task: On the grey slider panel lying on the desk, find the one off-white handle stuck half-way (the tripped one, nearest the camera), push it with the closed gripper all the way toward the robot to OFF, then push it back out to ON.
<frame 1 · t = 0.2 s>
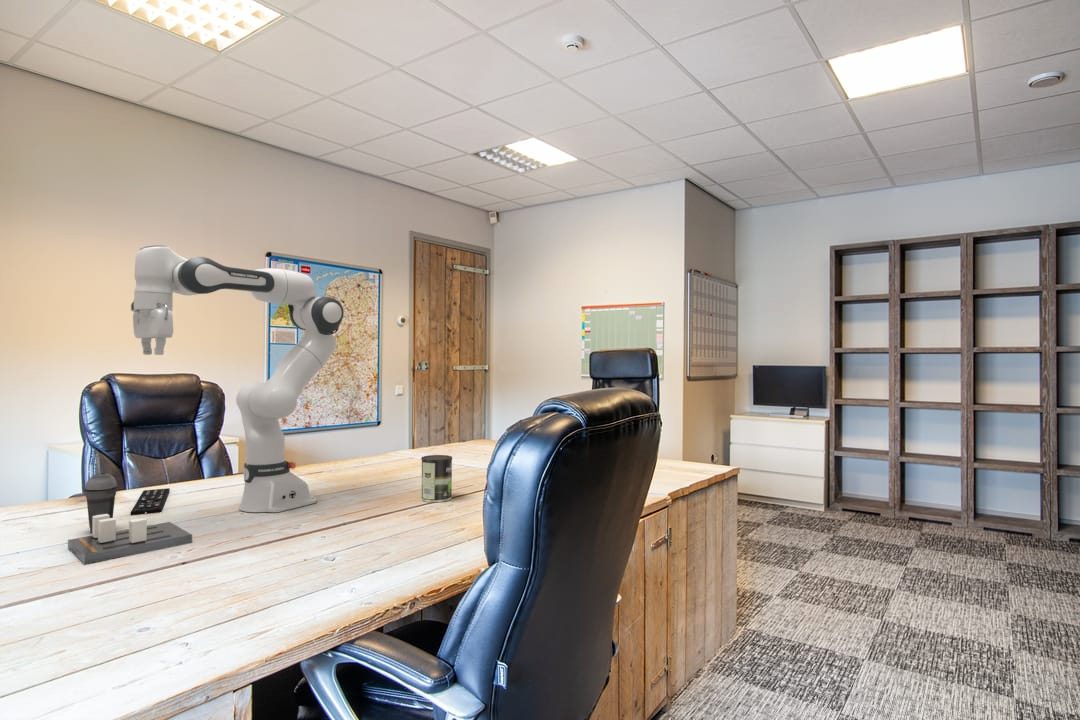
hand: (153, 354, 162), 48 cm above the table, tool pointing down, fingers open, 8 cm apart
beverage cup: (100, 531, 158), on the table
breaker b: (106, 530, 143), point 5 cm above the table, slide at 10.0 cm
coffee can: (436, 499, 199), on the table
tripped breaker: (137, 530, 143), point 5 cm above the table, slide at 5.0 cm
remote control: (151, 504, 190), on the table
grey slider panel: (131, 545, 147), on the table
breaker a: (101, 525, 147), point 5 cm above the table, slide at 10.0 cm
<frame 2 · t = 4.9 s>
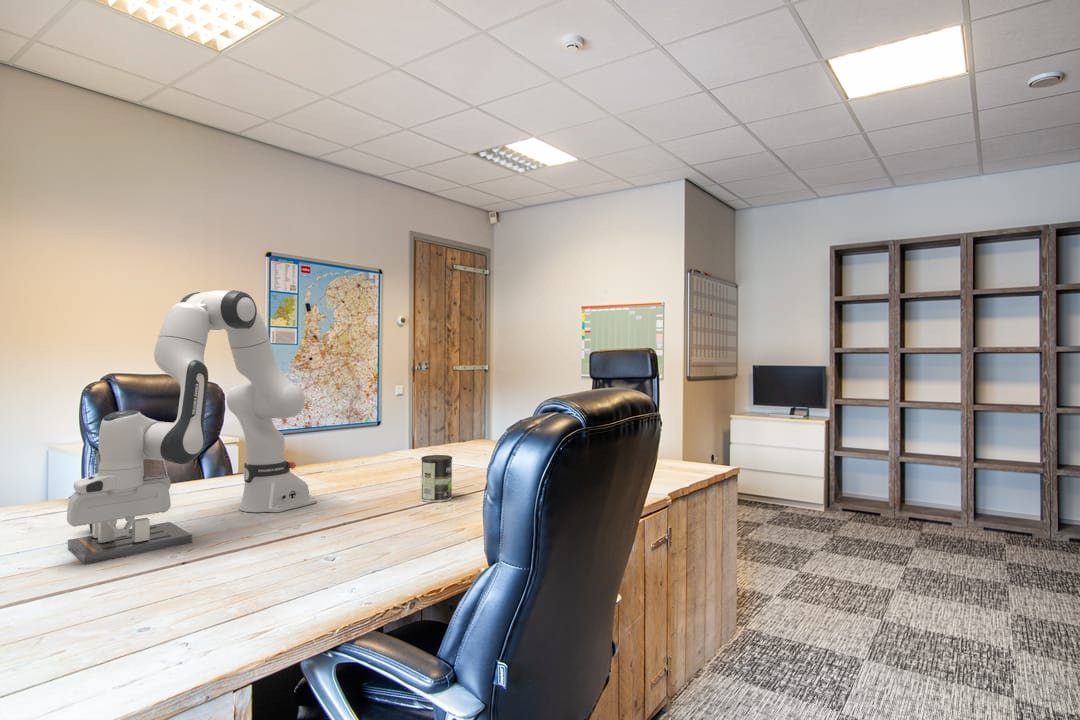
hand: (121, 536, 141), 4 cm above the table, tool pointing down, fingers closed
tripped breaker: (140, 529, 144), point 5 cm above the table, slide at 4.4 cm, touching gripper
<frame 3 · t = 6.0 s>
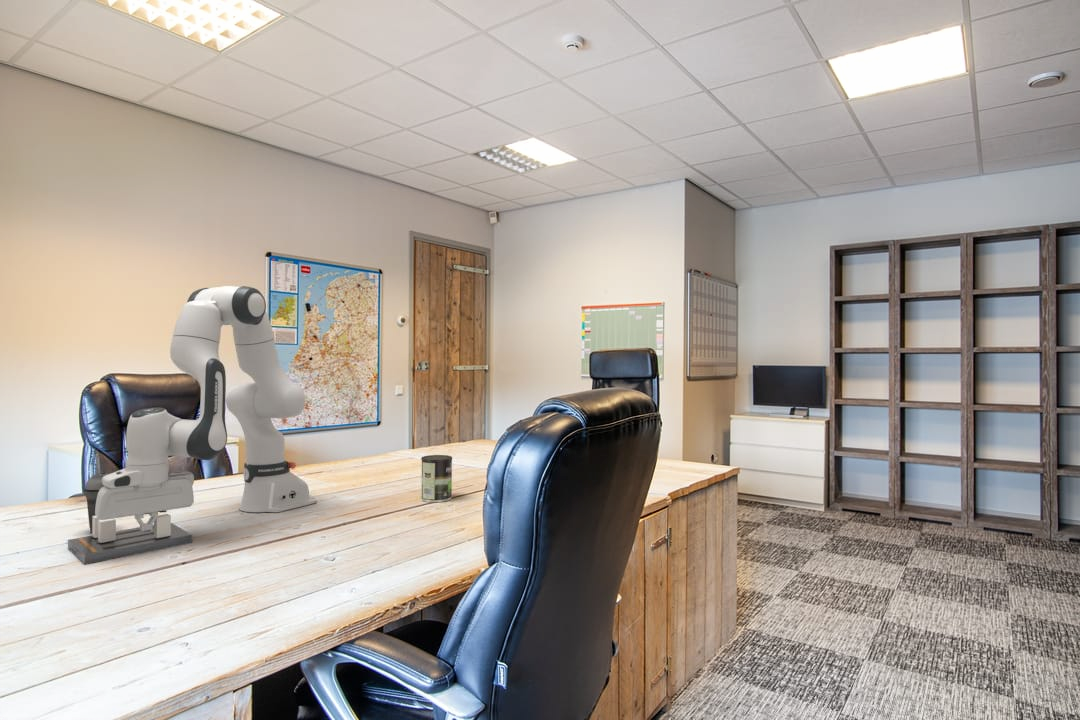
hand: (146, 531, 145), 4 cm above the table, tool pointing down, fingers closed
tripped breaker: (162, 525, 147), point 5 cm above the table, slide at -0.2 cm, touching gripper
everything else where it was.
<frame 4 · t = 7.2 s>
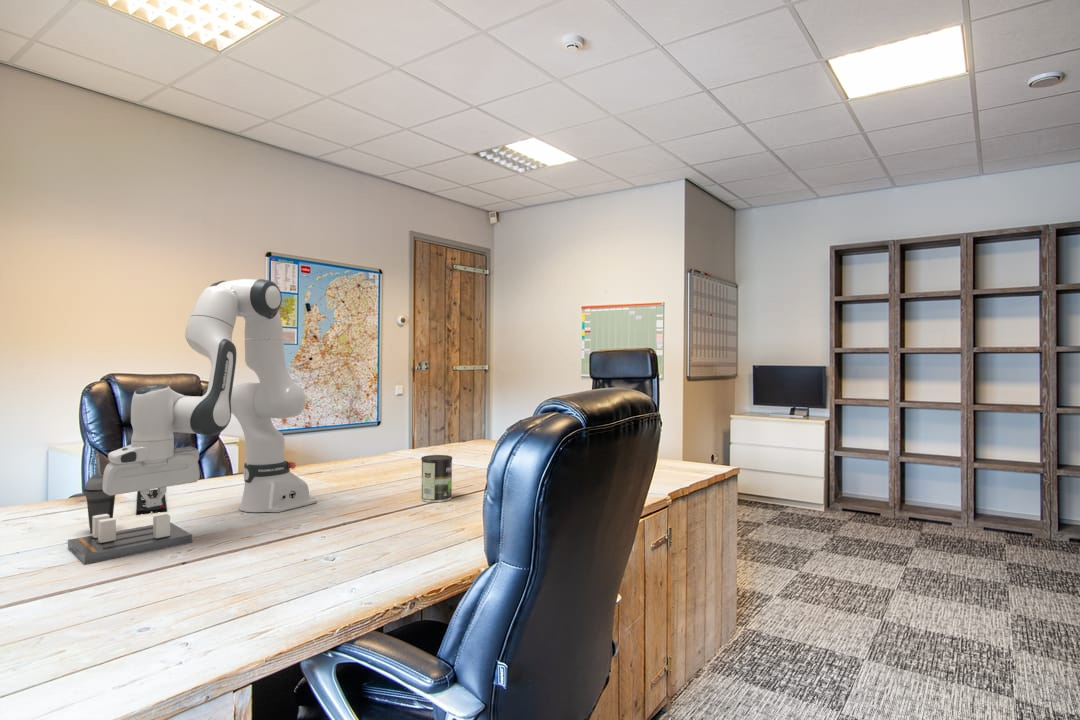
hand: (153, 506, 146), 10 cm above the table, tool pointing down, fingers closed
tripped breaker: (161, 526, 147), point 5 cm above the table, slide at -0.1 cm
everything else where it was.
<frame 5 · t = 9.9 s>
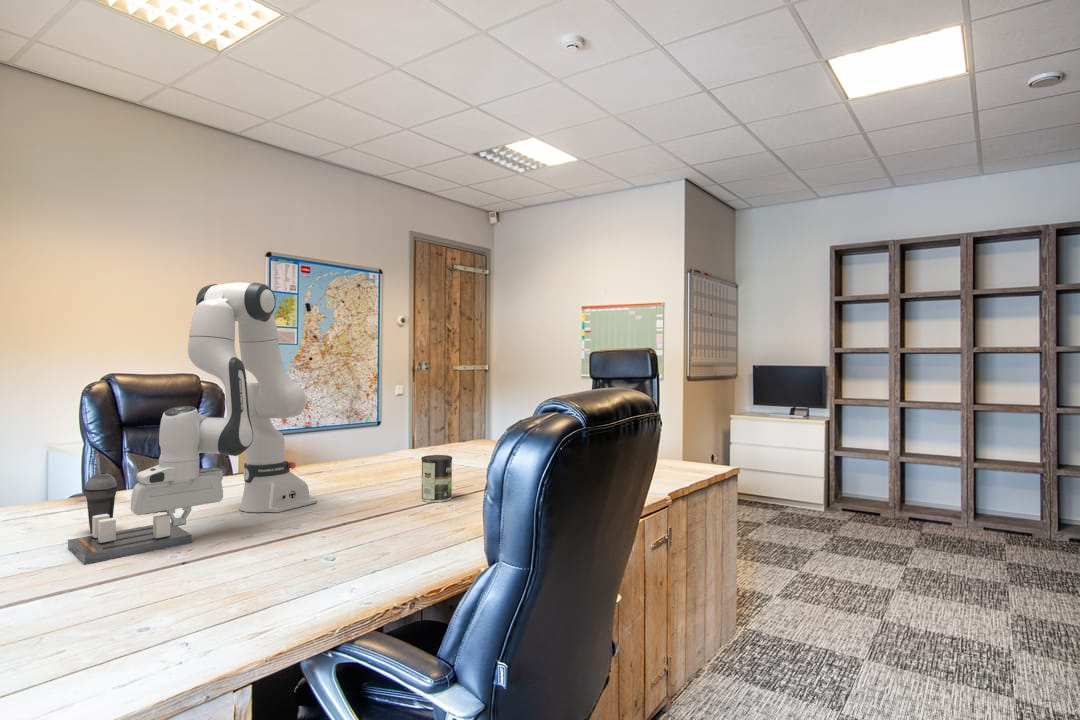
hand: (178, 525, 150), 4 cm above the table, tool pointing down, fingers closed
tripped breaker: (161, 526, 147), point 5 cm above the table, slide at -0.1 cm, touching gripper
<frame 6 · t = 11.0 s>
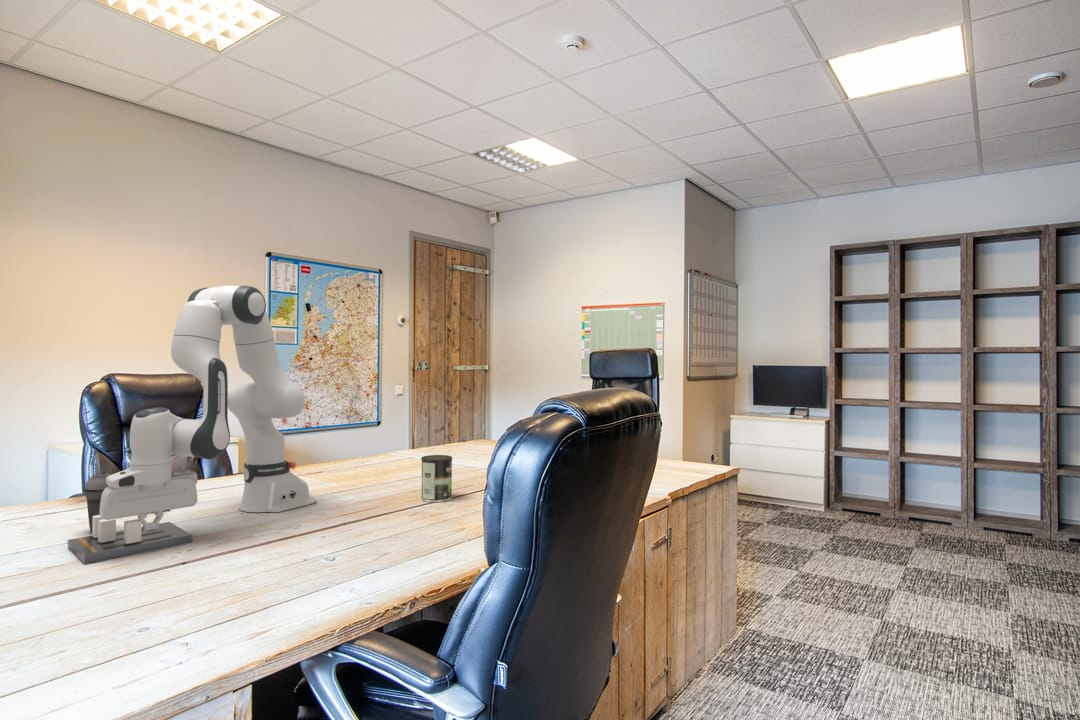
hand: (150, 530, 145), 4 cm above the table, tool pointing down, fingers closed
tripped breaker: (132, 531, 143), point 5 cm above the table, slide at 6.1 cm, touching gripper
everything else where it was.
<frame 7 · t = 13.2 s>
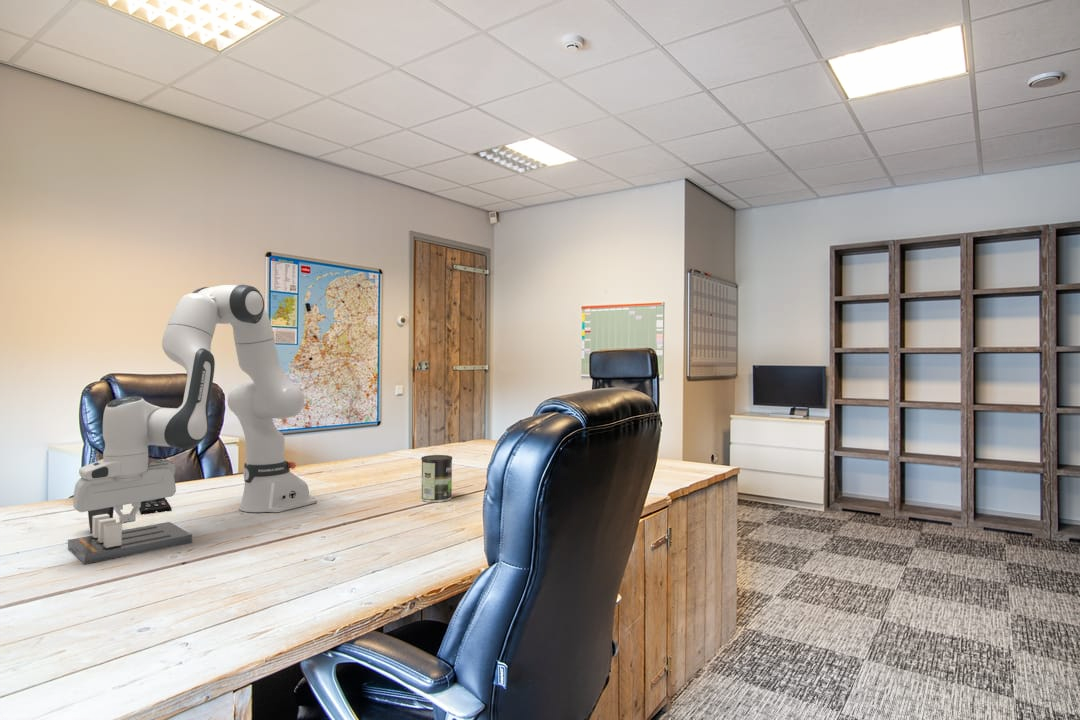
hand: (127, 522, 142), 7 cm above the table, tool pointing down, fingers closed
tripped breaker: (112, 534, 140), point 5 cm above the table, slide at 10.1 cm, touching gripper
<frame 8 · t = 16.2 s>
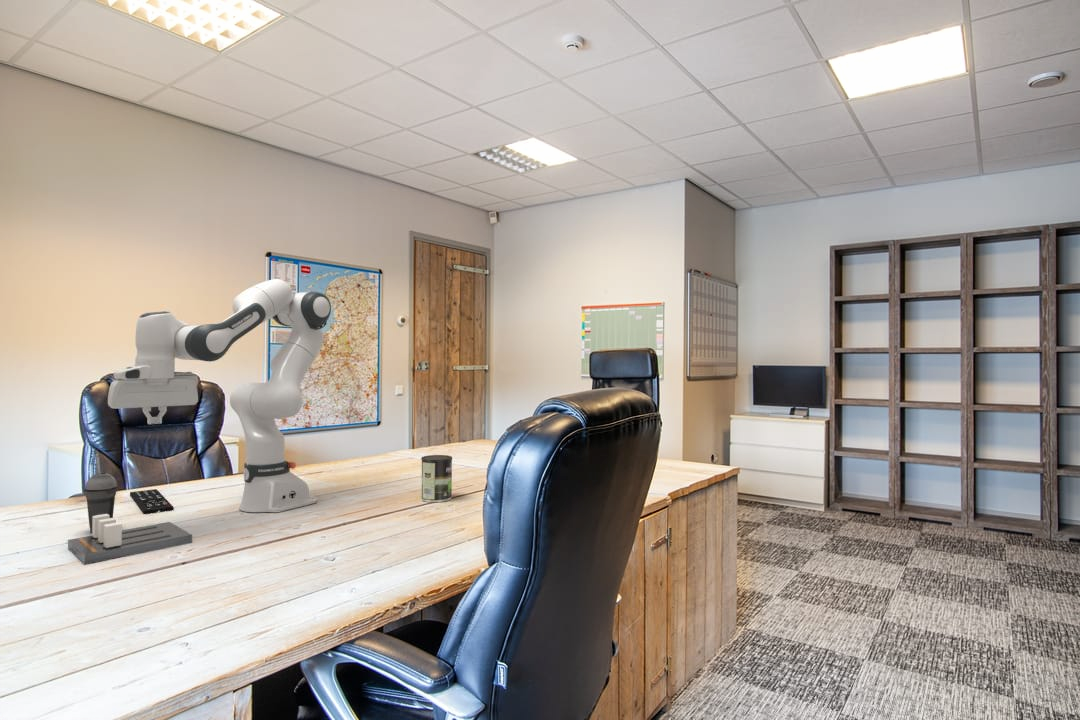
hand: (154, 423, 157), 29 cm above the table, tool pointing down, fingers closed
tripped breaker: (112, 534, 140), point 5 cm above the table, slide at 10.1 cm
at the end: tripped breaker slide at 10.1 cm; breaker a slide at 10.0 cm; breaker b slide at 10.0 cm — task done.
